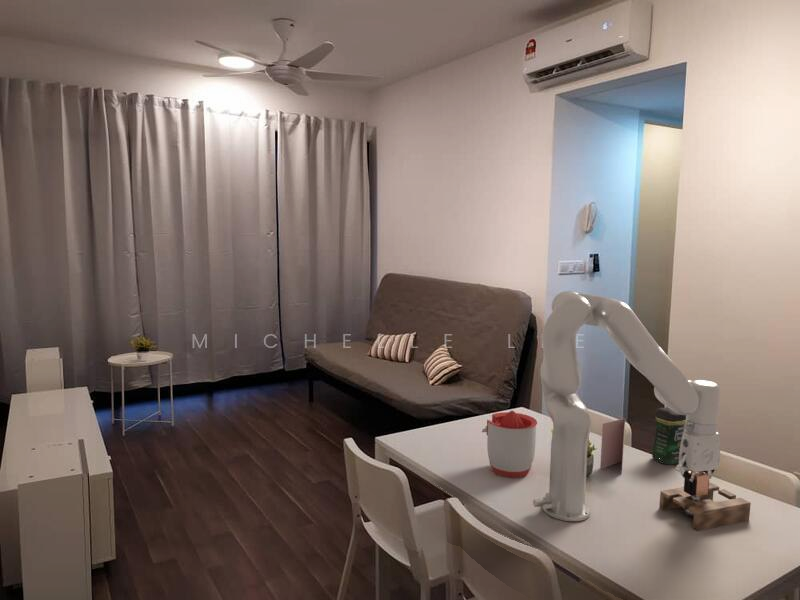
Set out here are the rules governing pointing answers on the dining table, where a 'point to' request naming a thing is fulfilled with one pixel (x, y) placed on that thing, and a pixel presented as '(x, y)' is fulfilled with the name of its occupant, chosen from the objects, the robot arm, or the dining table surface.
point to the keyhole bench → (708, 507)
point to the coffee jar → (668, 436)
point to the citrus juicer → (511, 443)
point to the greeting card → (612, 443)
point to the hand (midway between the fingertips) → (695, 491)
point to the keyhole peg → (699, 488)
